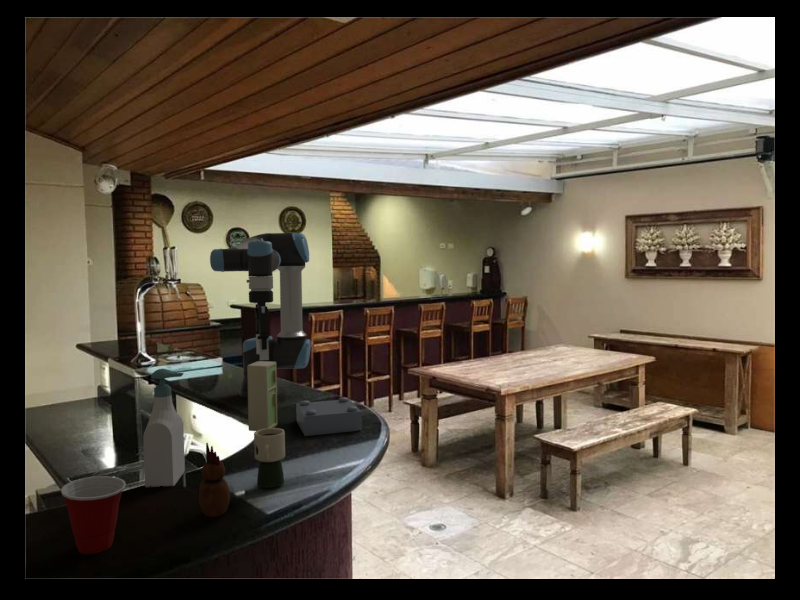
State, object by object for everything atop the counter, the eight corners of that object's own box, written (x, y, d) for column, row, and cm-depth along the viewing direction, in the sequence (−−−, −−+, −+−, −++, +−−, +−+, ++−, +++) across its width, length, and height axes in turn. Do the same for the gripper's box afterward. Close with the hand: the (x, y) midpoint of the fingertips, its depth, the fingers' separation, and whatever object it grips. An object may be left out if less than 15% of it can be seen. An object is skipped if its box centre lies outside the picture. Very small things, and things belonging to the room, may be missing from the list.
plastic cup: (114, 560, 106) (111, 494, 105) (51, 562, 105) (48, 497, 104) (137, 532, 116) (135, 473, 116) (80, 534, 116) (78, 474, 115)
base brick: (296, 421, 197) (296, 400, 197) (349, 416, 203) (349, 396, 202) (304, 435, 180) (304, 413, 180) (361, 430, 186) (361, 408, 185)
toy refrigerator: (269, 432, 185) (268, 365, 183) (248, 431, 186) (246, 365, 185) (280, 425, 193) (278, 361, 191) (259, 424, 194) (257, 361, 193)
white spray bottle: (181, 486, 140) (177, 372, 139) (145, 488, 139) (140, 373, 138) (192, 470, 151) (188, 364, 150) (158, 471, 150) (154, 365, 149)
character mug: (259, 477, 146) (258, 425, 145) (288, 476, 146) (287, 425, 145) (251, 495, 135) (249, 439, 134) (282, 494, 135) (281, 438, 134)
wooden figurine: (196, 511, 126) (194, 442, 125) (223, 505, 129) (221, 437, 128) (205, 523, 120) (203, 451, 119) (233, 515, 124) (231, 445, 123)
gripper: (246, 289, 197) (247, 352, 198) (251, 291, 173) (252, 363, 175) (269, 288, 200) (270, 350, 201) (277, 291, 176) (278, 361, 177)
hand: (262, 356), depth 188 cm, fingers open, 13 cm apart
